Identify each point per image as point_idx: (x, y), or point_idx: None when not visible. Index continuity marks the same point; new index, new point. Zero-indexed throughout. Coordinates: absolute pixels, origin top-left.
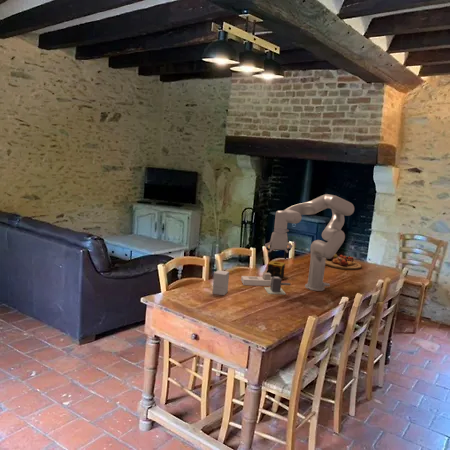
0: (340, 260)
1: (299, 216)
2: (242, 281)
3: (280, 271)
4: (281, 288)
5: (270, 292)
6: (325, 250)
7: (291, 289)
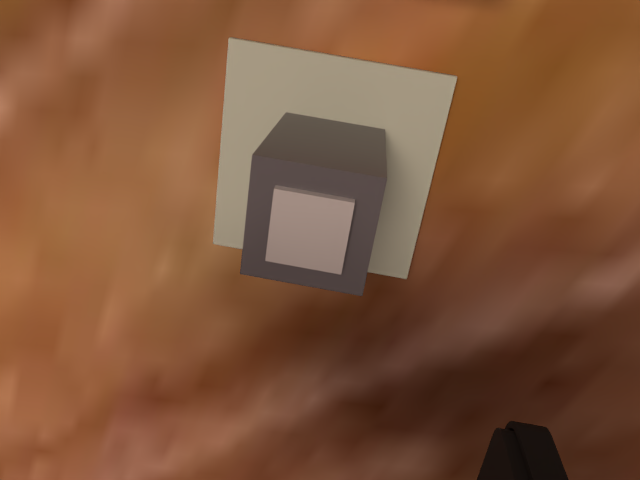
0: None
1: None
2: None
3: None
4: (449, 102)
5: (243, 226)
6: None
7: (586, 116)
